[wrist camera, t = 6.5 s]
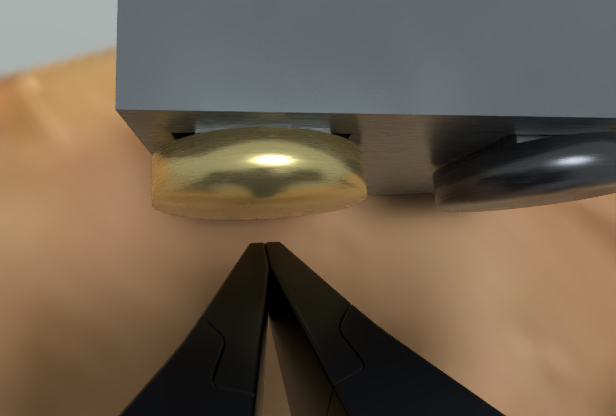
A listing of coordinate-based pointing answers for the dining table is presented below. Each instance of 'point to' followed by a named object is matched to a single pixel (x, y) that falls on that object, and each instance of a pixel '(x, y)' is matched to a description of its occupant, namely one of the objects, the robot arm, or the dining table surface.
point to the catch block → (370, 74)
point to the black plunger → (528, 172)
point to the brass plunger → (257, 174)
